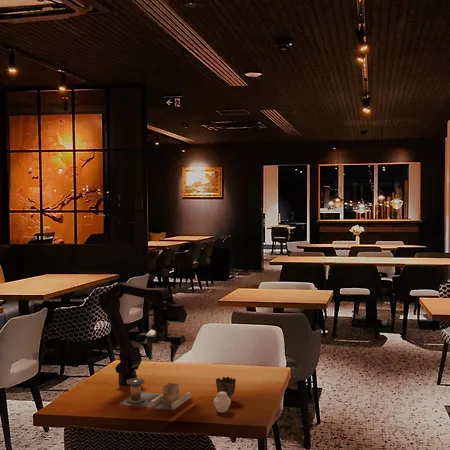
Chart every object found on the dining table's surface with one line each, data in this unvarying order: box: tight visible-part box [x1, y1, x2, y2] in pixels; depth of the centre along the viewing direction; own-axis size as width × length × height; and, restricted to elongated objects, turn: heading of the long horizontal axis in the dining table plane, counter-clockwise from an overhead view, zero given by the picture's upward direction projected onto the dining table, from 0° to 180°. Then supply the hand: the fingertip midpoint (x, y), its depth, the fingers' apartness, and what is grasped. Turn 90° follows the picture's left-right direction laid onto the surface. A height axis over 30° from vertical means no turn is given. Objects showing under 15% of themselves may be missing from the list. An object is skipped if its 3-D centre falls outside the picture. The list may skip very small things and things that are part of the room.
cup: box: [215, 376, 237, 401], centre depth 238 cm, size 8×7×8 cm
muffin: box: [213, 392, 232, 413], centre depth 226 cm, size 6×6×7 cm
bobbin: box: [126, 377, 145, 404], centre depth 234 cm, size 6×6×8 cm
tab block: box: [162, 382, 180, 404], centre depth 233 cm, size 4×5×6 cm
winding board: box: [118, 391, 192, 411], centre depth 235 cm, size 22×16×3 cm
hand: (161, 360), depth 250 cm, fingers open, 9 cm apart
